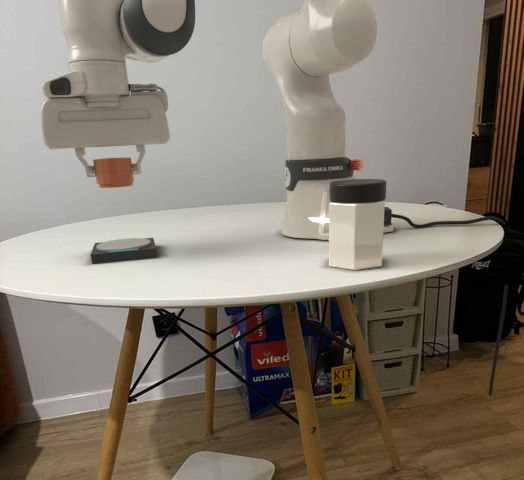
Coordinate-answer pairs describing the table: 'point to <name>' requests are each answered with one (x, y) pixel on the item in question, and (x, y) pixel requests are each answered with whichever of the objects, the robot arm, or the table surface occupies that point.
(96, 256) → the scale
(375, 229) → the jar
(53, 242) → the table surface
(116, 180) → the cup
